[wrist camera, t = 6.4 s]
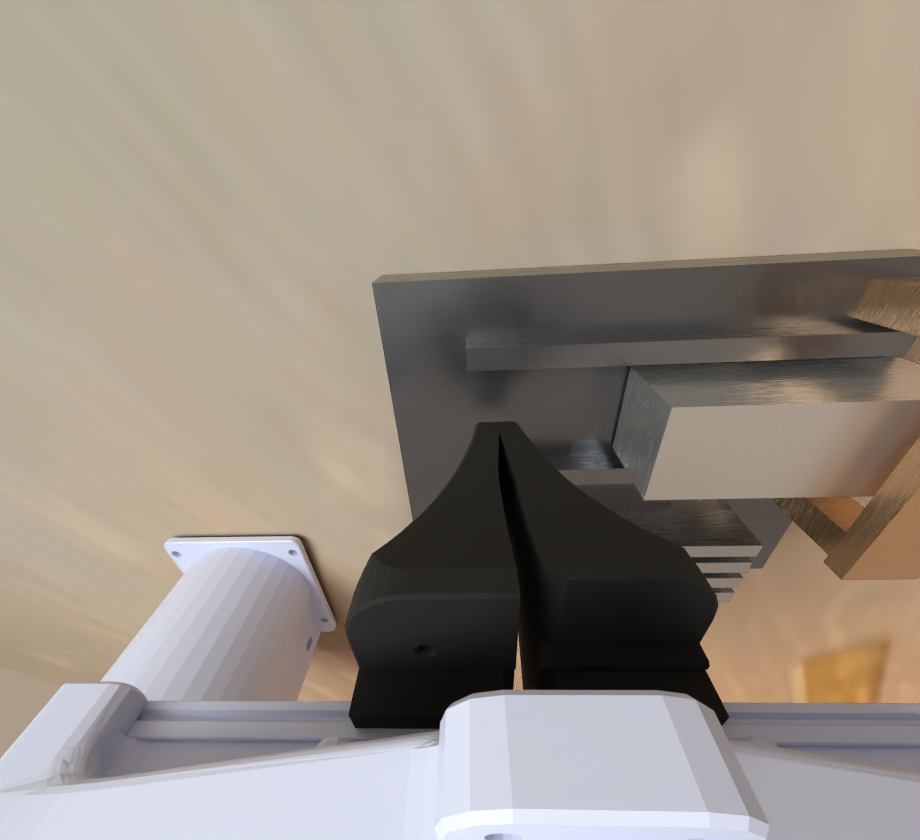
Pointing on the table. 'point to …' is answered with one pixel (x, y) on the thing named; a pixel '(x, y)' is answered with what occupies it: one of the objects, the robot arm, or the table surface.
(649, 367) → the bar
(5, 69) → the table surface
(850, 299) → the base
